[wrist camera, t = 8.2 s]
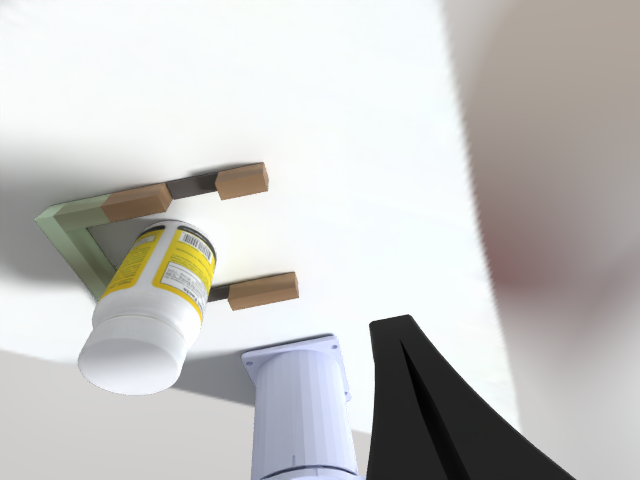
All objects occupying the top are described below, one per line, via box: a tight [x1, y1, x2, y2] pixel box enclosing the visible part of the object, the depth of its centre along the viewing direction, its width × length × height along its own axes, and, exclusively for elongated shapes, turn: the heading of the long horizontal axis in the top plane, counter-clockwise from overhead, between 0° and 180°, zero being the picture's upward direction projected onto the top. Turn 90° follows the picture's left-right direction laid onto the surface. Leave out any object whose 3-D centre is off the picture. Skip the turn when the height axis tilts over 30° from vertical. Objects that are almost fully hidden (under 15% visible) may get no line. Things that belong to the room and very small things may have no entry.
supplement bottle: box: [78, 221, 217, 395], centre depth 17 cm, size 5×5×8 cm
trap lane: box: [34, 163, 299, 311], centre depth 20 cm, size 9×12×2 cm
